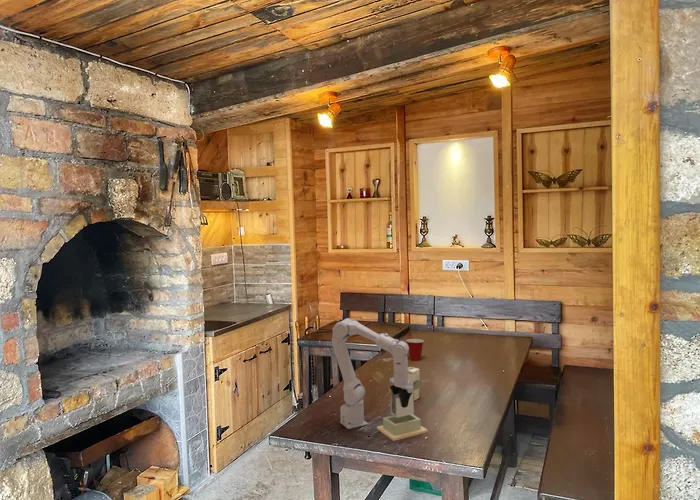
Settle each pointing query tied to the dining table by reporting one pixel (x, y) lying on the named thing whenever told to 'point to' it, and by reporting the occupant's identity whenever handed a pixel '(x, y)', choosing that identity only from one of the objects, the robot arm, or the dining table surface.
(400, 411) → the bracket
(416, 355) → the plastic cup
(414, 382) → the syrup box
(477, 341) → the dining table surface
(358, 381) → the robot arm
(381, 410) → the dining table surface
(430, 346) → the dining table surface
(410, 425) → the well
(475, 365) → the dining table surface
